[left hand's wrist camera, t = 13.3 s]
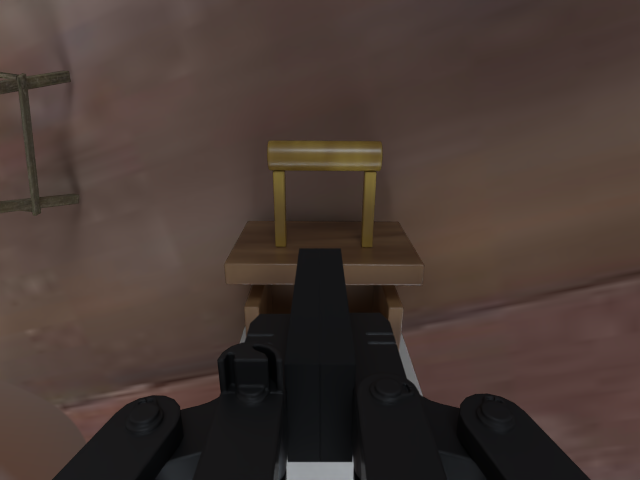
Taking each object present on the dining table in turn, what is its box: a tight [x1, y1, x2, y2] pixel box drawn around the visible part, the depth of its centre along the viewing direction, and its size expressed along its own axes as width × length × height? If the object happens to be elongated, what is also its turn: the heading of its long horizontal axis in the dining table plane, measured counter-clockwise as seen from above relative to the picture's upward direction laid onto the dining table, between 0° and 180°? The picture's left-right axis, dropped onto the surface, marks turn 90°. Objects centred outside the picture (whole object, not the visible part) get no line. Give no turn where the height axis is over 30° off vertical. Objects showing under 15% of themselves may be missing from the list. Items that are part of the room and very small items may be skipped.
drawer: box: [224, 141, 424, 354], centre depth 26 cm, size 24×10×7 cm, turn 0°
